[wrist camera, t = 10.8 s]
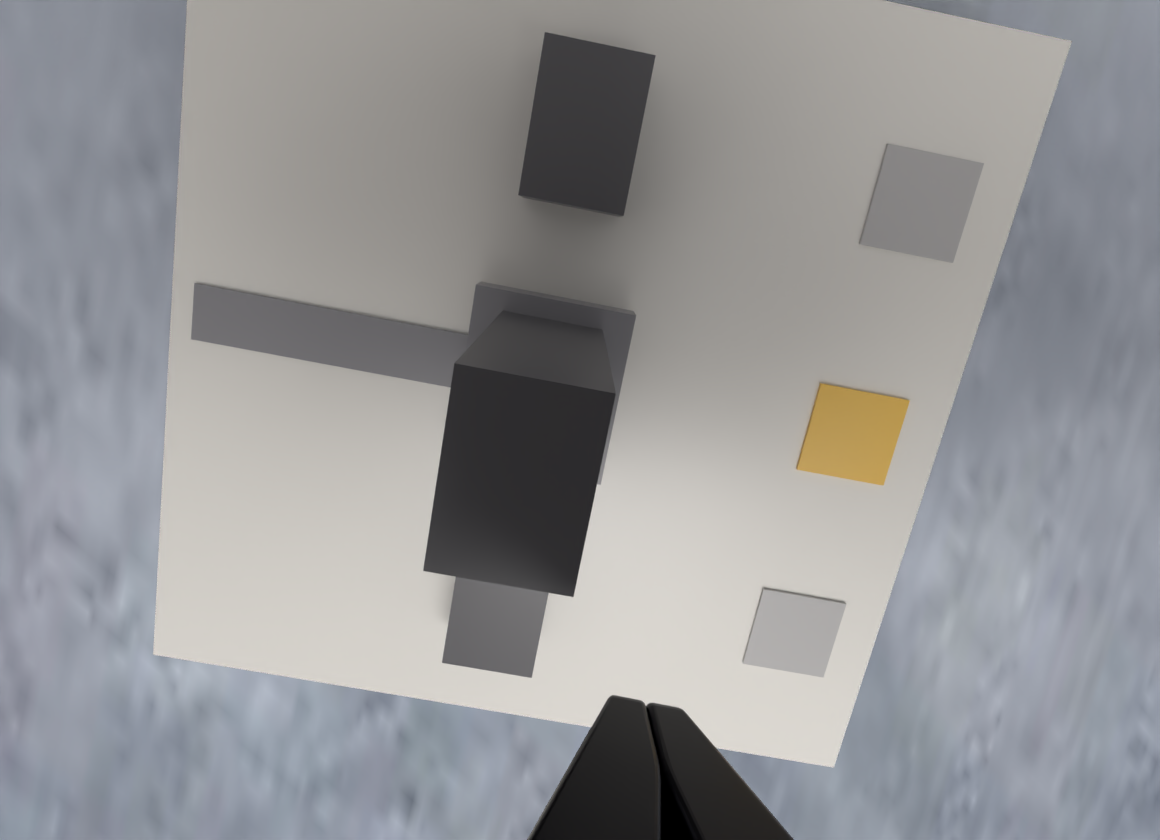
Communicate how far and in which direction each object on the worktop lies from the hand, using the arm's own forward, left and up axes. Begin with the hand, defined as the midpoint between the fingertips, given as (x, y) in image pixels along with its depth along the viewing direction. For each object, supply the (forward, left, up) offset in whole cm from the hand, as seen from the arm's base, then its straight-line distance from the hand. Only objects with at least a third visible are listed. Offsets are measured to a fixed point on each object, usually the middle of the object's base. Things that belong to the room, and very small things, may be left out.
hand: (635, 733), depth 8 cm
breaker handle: (+2, -2, -9) cm, 9 cm away
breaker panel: (+1, -2, -12) cm, 12 cm away
